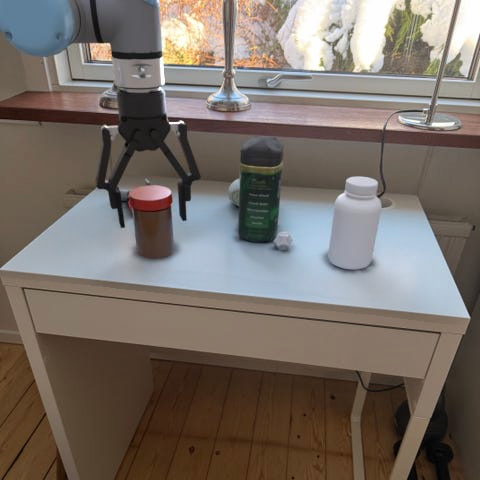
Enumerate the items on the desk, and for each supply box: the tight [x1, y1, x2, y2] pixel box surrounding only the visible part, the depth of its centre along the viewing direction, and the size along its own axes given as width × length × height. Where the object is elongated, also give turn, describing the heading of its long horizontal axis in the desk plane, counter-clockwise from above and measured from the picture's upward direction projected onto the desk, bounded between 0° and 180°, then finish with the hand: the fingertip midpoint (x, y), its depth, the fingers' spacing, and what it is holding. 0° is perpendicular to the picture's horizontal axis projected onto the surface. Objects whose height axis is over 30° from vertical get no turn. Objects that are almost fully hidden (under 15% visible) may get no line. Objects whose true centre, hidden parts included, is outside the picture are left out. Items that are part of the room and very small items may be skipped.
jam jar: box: [131, 204, 175, 259], centre depth 85 cm, size 7×7×11 cm
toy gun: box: [120, 178, 151, 212], centre depth 104 cm, size 10×12×5 cm
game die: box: [273, 231, 294, 251], centre depth 89 cm, size 4×4×3 cm
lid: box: [129, 184, 173, 211], centre depth 82 cm, size 8×8×2 cm
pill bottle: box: [327, 175, 383, 271], centre depth 82 cm, size 8×8×15 cm
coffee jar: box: [237, 135, 285, 243], centre depth 90 cm, size 10×8×19 cm
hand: (153, 221), depth 85 cm, fingers open, 10 cm apart
